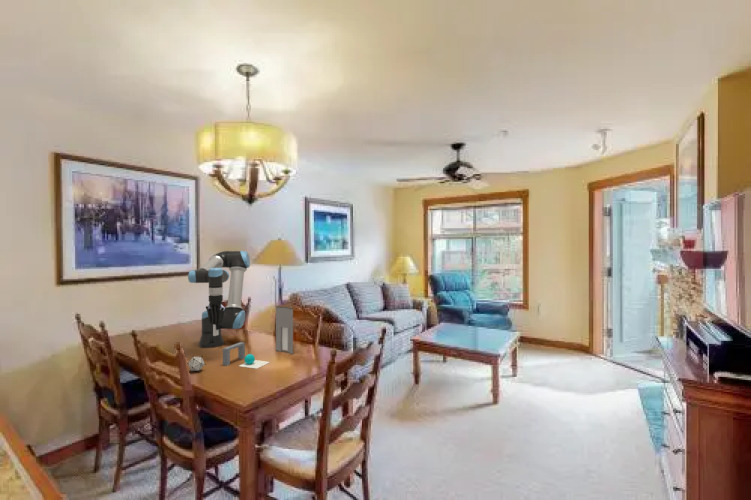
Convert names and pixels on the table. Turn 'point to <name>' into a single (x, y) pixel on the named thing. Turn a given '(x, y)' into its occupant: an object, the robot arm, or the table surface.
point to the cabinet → (284, 328)
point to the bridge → (227, 350)
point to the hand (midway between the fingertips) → (215, 335)
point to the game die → (196, 363)
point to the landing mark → (255, 364)
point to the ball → (249, 359)
